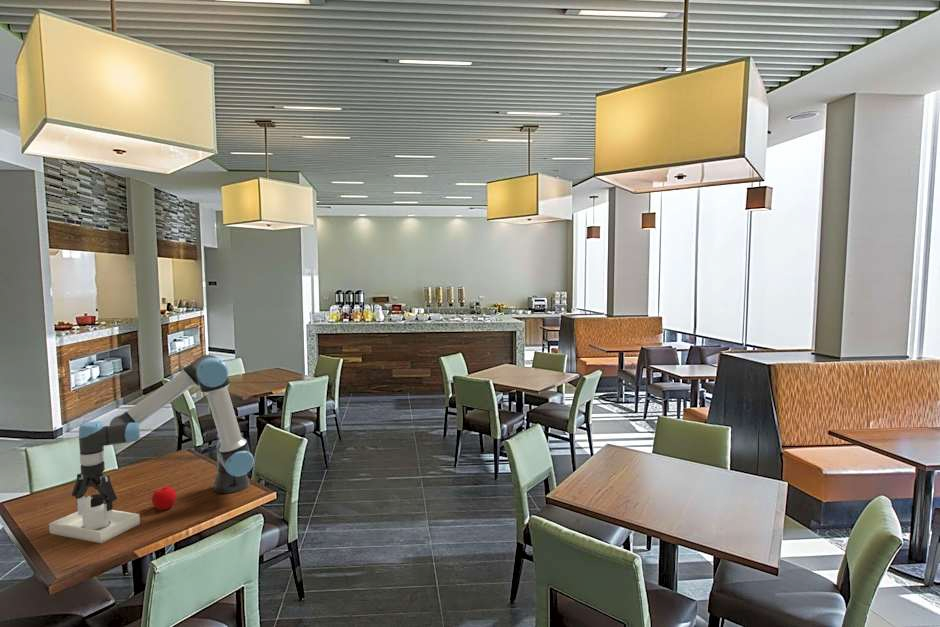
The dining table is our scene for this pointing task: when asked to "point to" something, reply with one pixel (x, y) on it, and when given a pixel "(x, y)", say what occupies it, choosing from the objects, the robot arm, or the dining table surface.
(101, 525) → the medicine bottle
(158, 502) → the fruit
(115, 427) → the robot arm
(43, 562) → the dining table surface
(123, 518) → the tray
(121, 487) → the dining table surface
